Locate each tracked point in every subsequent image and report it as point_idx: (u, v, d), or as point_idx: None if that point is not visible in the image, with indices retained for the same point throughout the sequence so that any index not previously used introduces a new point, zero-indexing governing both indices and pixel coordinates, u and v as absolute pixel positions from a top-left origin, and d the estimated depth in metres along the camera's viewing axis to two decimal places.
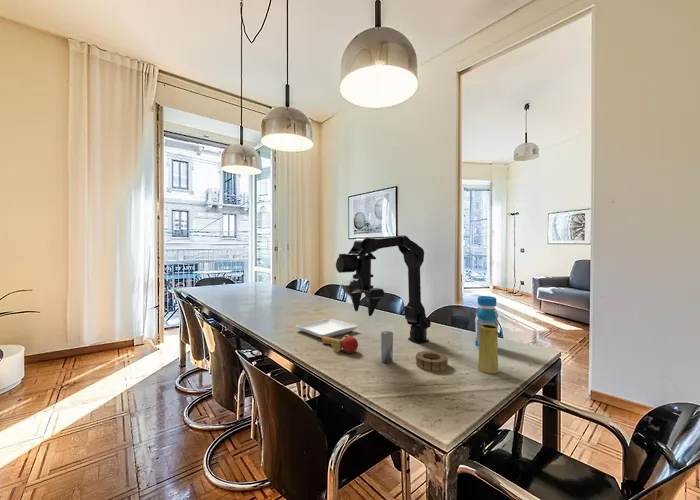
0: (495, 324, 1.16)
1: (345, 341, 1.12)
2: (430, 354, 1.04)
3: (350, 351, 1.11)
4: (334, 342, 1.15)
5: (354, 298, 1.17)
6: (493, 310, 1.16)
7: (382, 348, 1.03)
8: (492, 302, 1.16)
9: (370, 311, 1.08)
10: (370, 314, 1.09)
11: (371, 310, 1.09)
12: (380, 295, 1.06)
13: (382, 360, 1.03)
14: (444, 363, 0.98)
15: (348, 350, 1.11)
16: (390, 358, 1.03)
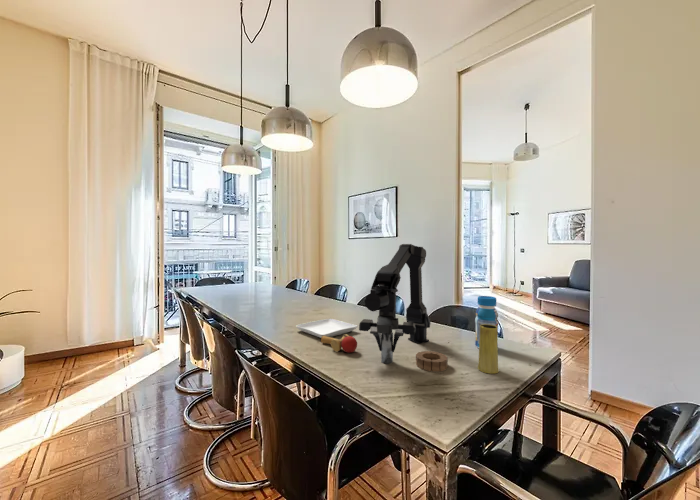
0: (495, 324, 1.16)
1: (344, 341, 1.12)
2: (430, 354, 1.04)
3: (349, 351, 1.11)
4: (333, 342, 1.15)
5: (379, 337, 1.04)
6: (493, 310, 1.16)
7: (382, 348, 1.03)
8: (492, 302, 1.16)
9: None
10: None
11: (395, 346, 1.04)
12: None
13: (382, 360, 1.03)
14: (444, 363, 0.98)
15: (347, 350, 1.11)
16: (390, 358, 1.03)
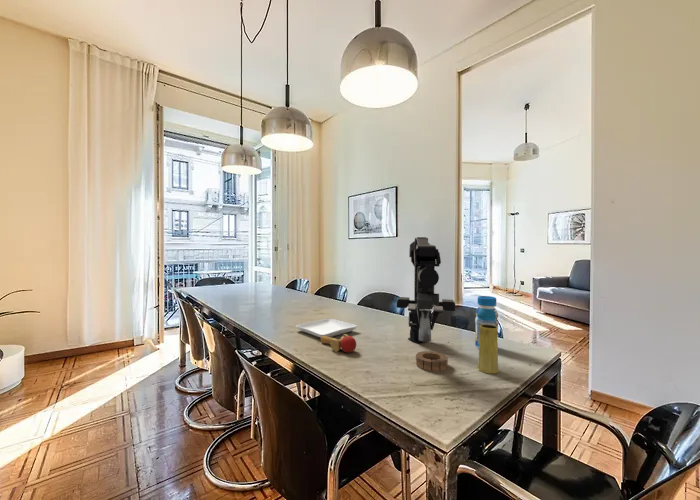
0: (495, 324, 1.16)
1: (343, 341, 1.12)
2: (430, 354, 1.04)
3: (348, 351, 1.12)
4: (333, 342, 1.16)
5: (417, 314, 1.02)
6: (493, 310, 1.16)
7: (420, 326, 1.01)
8: (492, 302, 1.16)
9: None
10: (432, 328, 1.01)
11: (434, 323, 1.01)
12: None
13: (420, 338, 1.01)
14: (444, 363, 0.98)
15: (346, 350, 1.11)
16: (429, 336, 1.00)
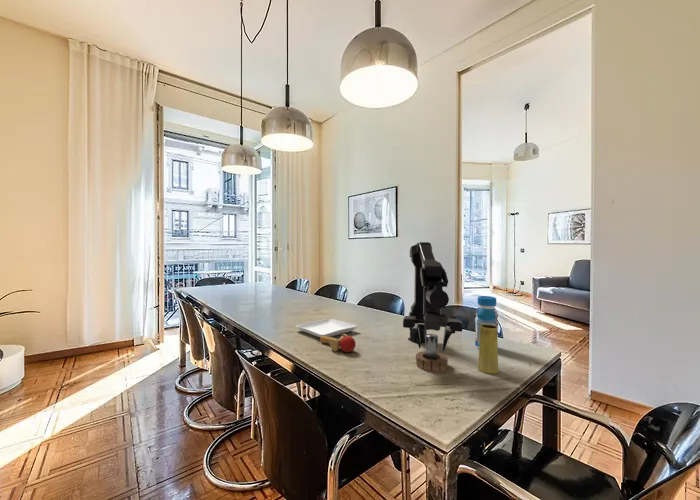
0: (495, 324, 1.16)
1: (342, 340, 1.13)
2: None
3: (347, 351, 1.12)
4: (332, 341, 1.16)
5: (419, 334, 1.02)
6: (493, 310, 1.16)
7: (427, 351, 1.00)
8: (492, 302, 1.16)
9: (445, 345, 1.00)
10: (444, 348, 1.00)
11: (446, 343, 1.00)
12: None
13: None
14: (444, 363, 0.98)
15: (345, 349, 1.12)
16: None
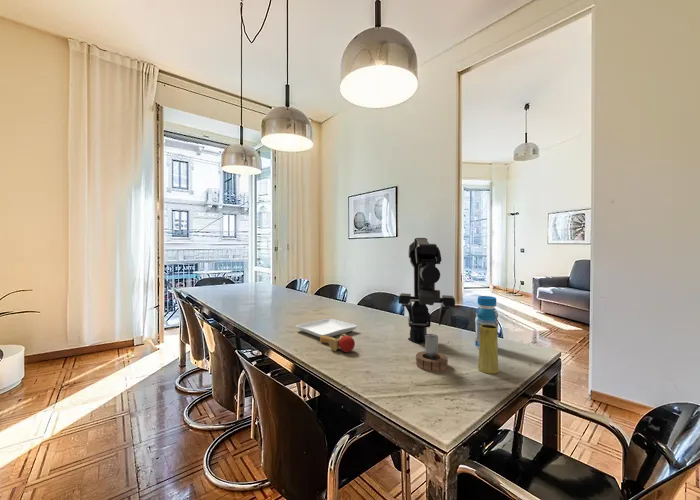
0: (495, 324, 1.16)
1: (342, 340, 1.13)
2: None
3: (347, 350, 1.12)
4: (331, 341, 1.16)
5: (411, 309, 1.06)
6: (493, 310, 1.16)
7: (427, 351, 1.00)
8: (492, 302, 1.16)
9: (441, 320, 1.04)
10: (440, 323, 1.05)
11: None
12: None
13: None
14: (444, 363, 0.98)
15: (344, 349, 1.12)
16: None
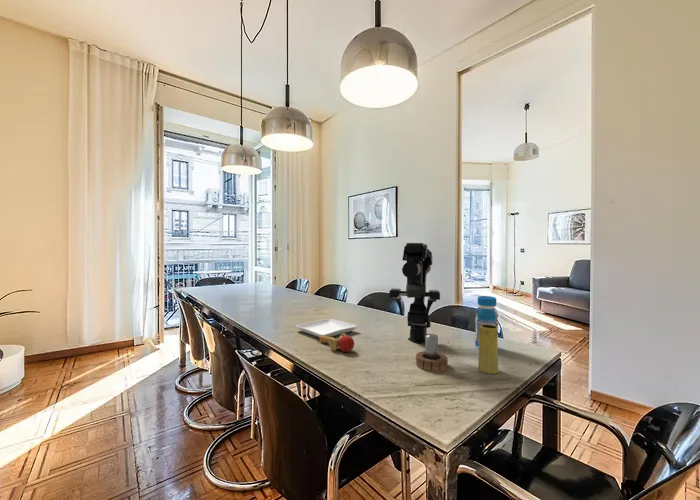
0: (495, 324, 1.16)
1: (341, 340, 1.13)
2: None
3: (346, 350, 1.12)
4: (331, 341, 1.16)
5: (401, 303, 1.16)
6: (493, 310, 1.16)
7: (427, 351, 1.00)
8: (492, 302, 1.16)
9: (428, 312, 1.14)
10: (427, 315, 1.15)
11: (428, 311, 1.15)
12: None
13: None
14: (444, 363, 0.98)
15: (344, 349, 1.12)
16: None
